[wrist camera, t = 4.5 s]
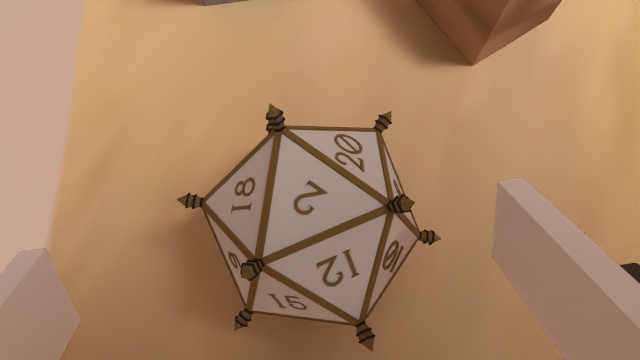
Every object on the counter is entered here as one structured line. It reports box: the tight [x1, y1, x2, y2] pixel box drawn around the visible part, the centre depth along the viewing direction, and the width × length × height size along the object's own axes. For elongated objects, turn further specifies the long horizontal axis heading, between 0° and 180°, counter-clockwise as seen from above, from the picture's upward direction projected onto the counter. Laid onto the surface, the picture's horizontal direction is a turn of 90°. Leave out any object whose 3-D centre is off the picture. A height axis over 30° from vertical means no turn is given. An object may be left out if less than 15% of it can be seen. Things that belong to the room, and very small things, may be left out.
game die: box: [177, 104, 441, 351], centre depth 17 cm, size 9×8×10 cm
